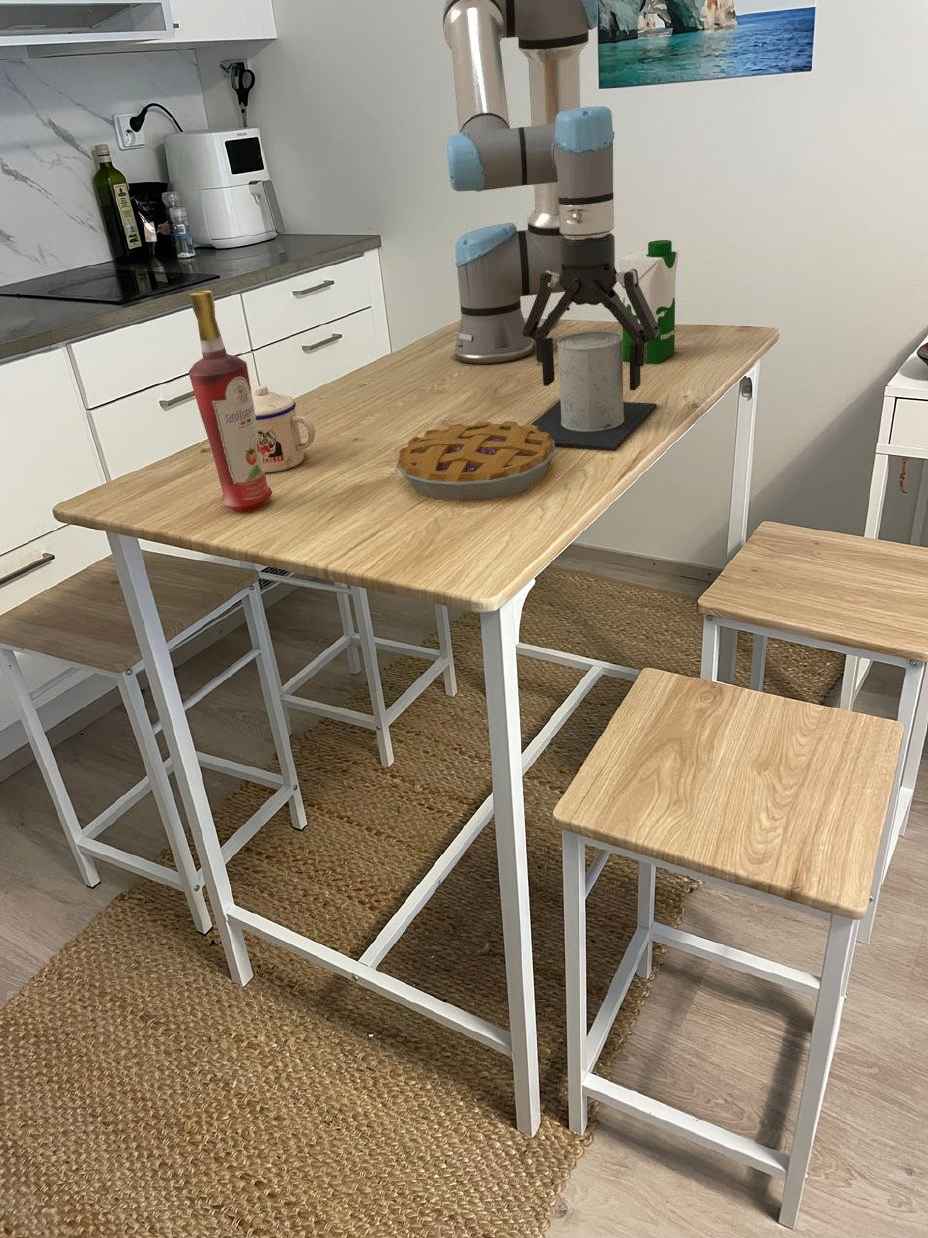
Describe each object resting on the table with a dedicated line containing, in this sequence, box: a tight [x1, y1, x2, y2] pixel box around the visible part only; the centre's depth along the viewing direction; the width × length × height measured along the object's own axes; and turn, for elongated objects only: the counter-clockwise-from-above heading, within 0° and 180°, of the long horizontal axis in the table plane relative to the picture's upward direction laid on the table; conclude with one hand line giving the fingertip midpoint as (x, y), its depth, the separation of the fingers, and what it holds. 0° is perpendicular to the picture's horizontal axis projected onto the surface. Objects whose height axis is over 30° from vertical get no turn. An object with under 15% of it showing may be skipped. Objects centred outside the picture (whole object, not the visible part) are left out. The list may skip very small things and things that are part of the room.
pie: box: [395, 420, 556, 502], centre depth 129 cm, size 22×22×5 cm
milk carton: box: [618, 239, 679, 364], centre depth 168 cm, size 9×9×20 cm
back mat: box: [529, 399, 658, 452], centre depth 144 cm, size 20×16×1 cm
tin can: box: [556, 331, 624, 432], centre depth 140 cm, size 10×10×12 cm
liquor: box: [188, 290, 273, 513], centre depth 122 cm, size 7×7×28 cm
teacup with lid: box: [252, 385, 316, 473], centre depth 139 cm, size 12×9×12 cm
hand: (591, 385), depth 141 cm, fingers open, 13 cm apart
